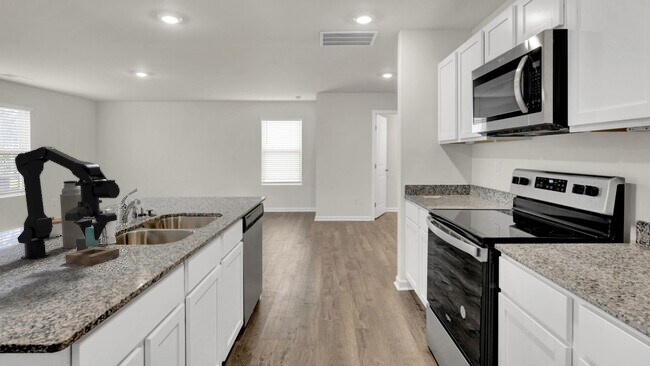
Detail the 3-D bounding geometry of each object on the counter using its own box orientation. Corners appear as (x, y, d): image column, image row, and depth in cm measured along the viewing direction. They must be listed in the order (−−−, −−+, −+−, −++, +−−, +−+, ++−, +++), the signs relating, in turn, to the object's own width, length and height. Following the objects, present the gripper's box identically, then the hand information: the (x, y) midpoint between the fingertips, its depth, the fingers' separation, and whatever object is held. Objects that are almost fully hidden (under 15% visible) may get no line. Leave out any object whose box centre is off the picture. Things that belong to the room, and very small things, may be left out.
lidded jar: (34, 238, 179) (33, 218, 179) (54, 233, 190) (53, 214, 189) (54, 238, 177) (53, 219, 177) (73, 234, 188) (71, 215, 187)
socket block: (66, 262, 137) (65, 254, 137) (94, 254, 149) (94, 246, 149) (92, 265, 134) (91, 256, 134) (119, 256, 145) (119, 248, 145)
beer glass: (103, 245, 163) (101, 211, 162) (96, 243, 167) (94, 209, 166) (120, 242, 169) (118, 209, 168) (112, 240, 173) (111, 207, 172)
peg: (83, 246, 140) (82, 228, 139) (92, 243, 143) (92, 226, 143) (92, 246, 138) (91, 229, 138) (101, 244, 142) (100, 227, 142)
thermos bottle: (79, 242, 169) (76, 180, 167) (88, 245, 164) (85, 180, 162) (59, 246, 162) (55, 181, 160) (68, 248, 158) (64, 181, 156)
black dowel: (74, 254, 149) (73, 239, 149) (83, 251, 153) (82, 237, 152) (82, 255, 148) (81, 239, 148) (91, 252, 152) (90, 237, 151)
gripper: (49, 199, 134) (52, 243, 136) (90, 201, 129) (93, 246, 130) (77, 196, 145) (80, 236, 146) (117, 197, 140) (119, 239, 141)
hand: (92, 239), depth 141 cm, fingers closed on peg, 4 cm apart
